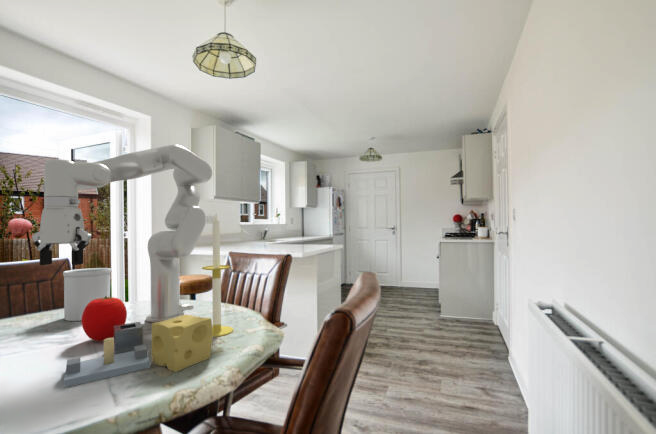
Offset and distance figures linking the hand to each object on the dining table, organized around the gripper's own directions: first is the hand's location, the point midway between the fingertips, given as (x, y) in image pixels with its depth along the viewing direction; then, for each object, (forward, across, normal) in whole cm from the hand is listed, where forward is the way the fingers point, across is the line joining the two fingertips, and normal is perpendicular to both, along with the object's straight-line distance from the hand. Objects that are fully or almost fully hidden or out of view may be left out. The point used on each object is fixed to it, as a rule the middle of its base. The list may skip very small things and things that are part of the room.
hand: (61, 264), depth 95 cm
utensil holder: (+23, +19, -31) cm, 43 cm away
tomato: (+23, -8, -6) cm, 25 cm away
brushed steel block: (+23, -20, 0) cm, 30 cm away
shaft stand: (+23, -25, +13) cm, 36 cm away
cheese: (+23, -39, +7) cm, 46 cm away
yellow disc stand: (+23, -38, -15) cm, 48 cm away
